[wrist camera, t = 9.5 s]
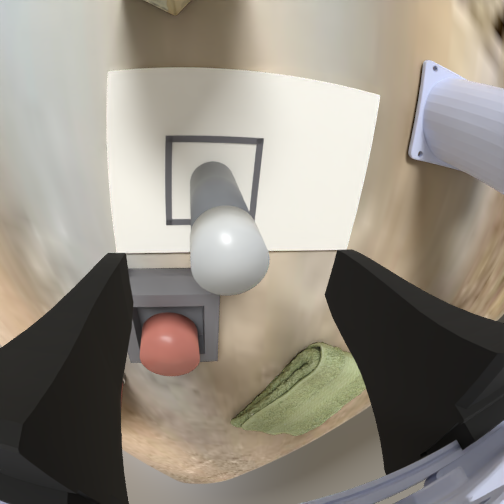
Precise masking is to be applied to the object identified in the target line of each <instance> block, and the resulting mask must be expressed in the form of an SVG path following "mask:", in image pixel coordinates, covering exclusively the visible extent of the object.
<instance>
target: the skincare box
mask: <svg viewBox="0 0 504 504" xmlns="http://www.w3.org/2000/svg"><path fill="white" fill-rule="evenodd" d="M144 1H146V2H148V3H150V4H152V5H154V6H156V7H158V8H160V9H162V10H164V11H166V12H168V13H170V14H172V15H174V16H176V15H178V14H179V13H180V11H181V10H182V9H183V8H184V7H185V6H186V5H187V4H188V3H189V2H190V1H191V0H144Z"/></svg>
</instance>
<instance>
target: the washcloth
mask: <svg viewBox="0 0 504 504" xmlns="http://www.w3.org/2000/svg"><path fill="white" fill-rule="evenodd" d="M365 389H366V386H365V384H364V381H363V378H362V375H361V373H360V371H359V368H358V366H357V364H356V362H355V360H354V358H353V356H352V354H351V353H348V352H343V351H342V350H341V349H340V348H339V347H332V346H330V345H328V344H325V343H323V342H322V343H314V344H312V345H309V346H308V347H307V348H306V349H305V350H304V351H303V352H301V353H300V354H298V355H297V356H296V358H295V359H294V360H293V361H292V362H291V363H290V364H289V365H288V366H286V367H285V368H284V369H283V370H282V373H281V374H280V375H278V376H276V378H275V379H274V380H273V381H272V382H271V383H270V384H269V385H268V387H267V388H266V389H265V390H264V391H263V392H262V394H260V395H259V396H256V397H257V398H256V399H255V400H253V401H252V403H251V404H249V405H248V406H247V408H246V409H245V410H244V411H242V412H240V414H238V416H237V417H236V418H234V419H232V420H231V424H232V425H233V426H235V427H239V428H242V429H244V430H252V431H261V432H264V433H267V434H272V435H277V434H282V433H286V434H290V435H293V436H297V435H302V434H304V433H307V432H308V431H309V430H312V429H314V428H316V427H317V426H318V427H319V426H320V425H321V424H322V423H324V422H325V421H326V420H327V419H329V418H330V417H331V416H333V414H335V413H337V412H338V411H339V410H341V408H342V407H343V406H344V405H345V404H346V403H348V402H349V401H351V400H352V399H354V398H355V397H356V396H358V395H360V394H361V393H362V392H363V391H364V390H365Z"/></svg>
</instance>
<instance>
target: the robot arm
mask: <svg viewBox="0 0 504 504" xmlns="http://www.w3.org/2000/svg"><path fill="white" fill-rule="evenodd" d="M433 66H434V70H433ZM419 151H420V154H419V155H418V153H419ZM408 154H409V156H410V157H411V158H413V159H415V160H420V161H424V162H429V163H433V164H437V165H441V166H445V167H449V168H452V169H456V170H460V171H463V172H465V173H467V174H469V175H471V176H473V177H474V178H476V179H478V180H480V181H482V182H483V183H485V184H487V185H489V186H490V187H492V188H494V189H495V190H497V191H499V192H500V193H502V194H504V89H503V88H499V87H495V86H491V85H487V84H482V83H477V82H473V81H468V80H466V79H465V78H463V77H461V76H459V75H458V74H456V73H454V72H452V71H450V70H448V69H447V68H445V67H443V66H441V65H439V64H437V63H435V62H433V61H430V60H425V61H424V63H423V69H422V77H421V85H420V91H419V98H418V104H417V110H416V116H415V121H414V126H413V132H412V136H411V141H410V146H409V151H408ZM325 297H326V300H327V303H328V306H329V309H330V312H331V314H332V317H333V319H334V321H335V323H336V325H337V327H338V329H339V331H340V333H341V335H342V337H343V339H344V341H345V343H346V345H347V346H348V348H349V350H350V352H351V354H352V356H353V358H354V360H355V362H356V364H357V366H358V368H359V371H360V373H361V375H362V378H363V381H364V384H365V386H366V389H367V392H368V395H369V398H370V402H371V405H372V408H373V412H374V415H375V419H376V423H377V428H378V432H379V436H380V441H381V448H382V454H383V461H384V470H385V473H386V476H383V477H381V478H379V479H376V480H373V481H371V482H368V483H366V484H363V485H360V486H357V487H355V488H352V489H348V490H345V491H342V492H339V493H336V494H333V495H329V496H326V497H323V498H319V499H315V500H311V501H307V502H304V503H299V504H375V503H377V502H380V501H382V500H384V499H386V498H389V497H391V496H393V495H395V494H397V493H400V492H402V491H404V490H406V489H408V488H410V487H412V486H414V485H416V484H418V483H419V482H421V481H423V480H425V479H426V481H425V483H424V487H423V488H422V489H421V490H419V491H417V492H415V493H413V494H411V495H409V496H408V497H406V498H404V499H402V500H400V501H398V502H396V503H394V504H504V323H501V322H497V321H494V320H491V319H487V318H484V317H481V316H478V315H475V314H473V313H470V312H468V311H465V310H463V309H460V308H458V307H455V306H453V305H451V304H449V303H447V302H444V301H442V300H440V299H438V298H436V297H434V296H432V295H430V294H429V293H427V292H425V291H423V290H421V289H420V288H418V287H416V286H414V285H413V284H411V283H409V282H407V281H406V280H404V279H402V278H401V277H399V276H398V275H396V274H394V273H393V272H391V271H389V270H388V269H386V268H385V267H383V266H381V265H380V264H378V263H376V262H375V261H373V260H371V259H370V258H368V257H366V256H364V255H363V254H361V253H359V252H357V251H354V250H337V254H336V257H335V261H334V265H333V268H332V272H331V275H330V279H329V282H328V286H327V289H326V292H325ZM133 303H134V302H133V296H132V291H131V285H130V279H129V272H128V266H127V259H126V253H108V254H107V255H105V256H104V257H103V258H102V259H101V260H100V261H99V262H98V263H97V264H96V265H95V266H94V267H93V269H92V270H91V271H90V272H89V273H88V274H87V275H86V276H85V277H84V278H83V279H82V280H81V281H80V282H79V283H78V284H77V285H76V286H75V287H74V288H73V289H72V290H71V291H70V292H69V293H68V294H67V295H66V296H64V297H63V298H62V299H61V300H60V301H59V302H58V303H57V304H56V305H55V306H54V307H53V308H52V309H51V310H50V311H49V312H47V313H46V314H45V315H44V316H43V317H42V318H40V319H39V320H38V321H37V322H35V323H34V324H33V325H32V326H31V327H29V328H28V329H27V330H25V331H24V332H22V333H21V334H20V335H18V336H17V337H15V338H14V339H13V340H11V341H10V342H9V343H7V344H6V345H4V346H3V347H1V348H0V504H129V502H128V496H127V491H126V483H125V476H124V467H123V456H122V441H121V391H122V382H123V375H124V369H125V363H126V357H127V351H128V346H129V340H130V335H131V329H132V317H133Z"/></svg>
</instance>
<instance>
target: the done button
mask: <svg viewBox="0 0 504 504" xmlns="http://www.w3.org/2000/svg"><path fill="white" fill-rule="evenodd" d="M140 360H141V362H142V364H143V365H144V366H145V367H146V368H147V369H148V370H150V371H152V372H154V373H156V374H160V375H164V376H179V375H184V374H187V373H189V372H191V371H192V370H194V369H195V368H196V367H197V366H198V364H199V361H200V354H199V343H198V331H197V327H196V325H195V324H194V322H193V321H192V320H190V319H189V318H187V317H186V316H183V315H181V314H177V313H171V312H165V313H159V314H156V315H153V316H151V317H150V318H148V319H147V320H146V321H145V323H144V324H143V327H142V336H141V346H140Z"/></svg>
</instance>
